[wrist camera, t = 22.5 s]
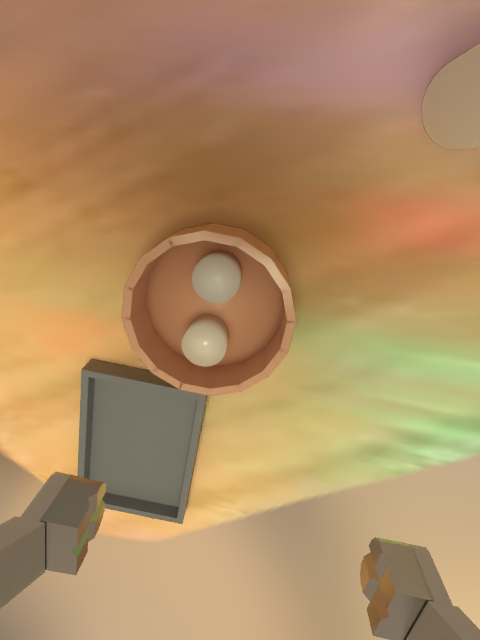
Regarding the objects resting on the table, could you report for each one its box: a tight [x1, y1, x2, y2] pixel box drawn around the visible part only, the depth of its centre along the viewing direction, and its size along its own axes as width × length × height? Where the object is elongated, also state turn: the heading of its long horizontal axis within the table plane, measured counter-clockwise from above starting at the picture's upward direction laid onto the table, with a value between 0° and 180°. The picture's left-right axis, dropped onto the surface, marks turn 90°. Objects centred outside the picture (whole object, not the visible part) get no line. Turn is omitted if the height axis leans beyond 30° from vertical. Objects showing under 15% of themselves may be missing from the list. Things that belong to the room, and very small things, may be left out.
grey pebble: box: [192, 250, 242, 303], centre depth 36 cm, size 4×4×3 cm
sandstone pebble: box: [182, 314, 229, 367], centre depth 39 cm, size 4×4×3 cm
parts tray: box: [78, 359, 207, 524], centre depth 46 cm, size 14×20×2 cm
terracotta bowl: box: [122, 223, 296, 396], centre depth 37 cm, size 16×16×6 cm
